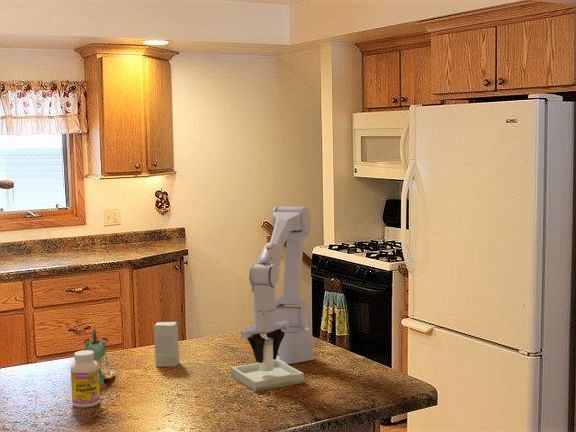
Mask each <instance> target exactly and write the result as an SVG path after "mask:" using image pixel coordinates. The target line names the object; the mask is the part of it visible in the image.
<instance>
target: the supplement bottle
mask: <svg viewBox="0 0 576 432" xmlns="http://www.w3.org/2000/svg"><path fill="white" fill-rule="evenodd" d="M73 358H74V360H75V362H73V363H72V364H71V366H70V380H71V381H70V382H71V403H72V405H73V406H74V407H75V408H80V409H82V408H83V409H85V408H91V407H94V406H97V405H98V404H99V403H100V402H101V390H100V384H99V383H100V381H99V369H100V364H99V365H98V361H95V360H93V358H94V351H91V350H87V349H86V350H85V349H84V350H83V349H82V350H79V351H76V352H74V355H73Z"/></svg>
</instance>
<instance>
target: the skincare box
mask: <svg viewBox="0 0 576 432" xmlns="http://www.w3.org/2000/svg"><path fill="white" fill-rule="evenodd" d="M178 331H179V328H178V321H160V322H159V321H157V322H156V323H155V324H153V336H154V337H153V338H154V355H155V356H154V357H155V367H157V368H158V367H163V368H164V367H177V366H178V364H180V348H179V347H180V346H179V332H178Z"/></svg>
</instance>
